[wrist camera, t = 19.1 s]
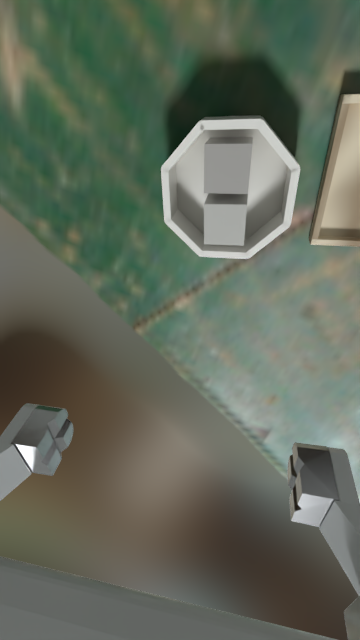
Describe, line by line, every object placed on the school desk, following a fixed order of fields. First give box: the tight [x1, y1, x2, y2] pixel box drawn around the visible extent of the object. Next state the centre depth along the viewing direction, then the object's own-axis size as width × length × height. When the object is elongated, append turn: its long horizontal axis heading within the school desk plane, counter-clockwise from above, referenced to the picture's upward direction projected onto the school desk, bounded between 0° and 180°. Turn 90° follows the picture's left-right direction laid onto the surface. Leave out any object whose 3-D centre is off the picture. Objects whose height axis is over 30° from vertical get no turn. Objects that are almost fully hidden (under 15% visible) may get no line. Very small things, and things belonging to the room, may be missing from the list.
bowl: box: [161, 115, 300, 259], centre depth 31 cm, size 12×12×4 cm
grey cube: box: [204, 193, 248, 246], centre depth 32 cm, size 4×4×4 cm
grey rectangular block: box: [204, 137, 253, 194], centre depth 29 cm, size 4×4×4 cm
